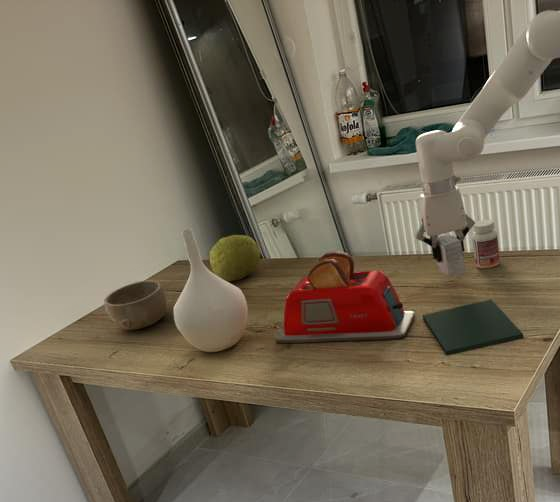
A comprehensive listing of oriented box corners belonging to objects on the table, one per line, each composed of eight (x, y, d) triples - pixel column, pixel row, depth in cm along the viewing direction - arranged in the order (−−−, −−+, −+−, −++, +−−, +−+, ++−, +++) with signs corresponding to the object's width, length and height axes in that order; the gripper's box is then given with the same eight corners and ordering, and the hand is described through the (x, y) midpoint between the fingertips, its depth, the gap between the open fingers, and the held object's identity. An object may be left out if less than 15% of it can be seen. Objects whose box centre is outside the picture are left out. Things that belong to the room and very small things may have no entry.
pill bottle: (504, 262, 176) (501, 220, 171) (486, 270, 175) (482, 228, 170) (488, 258, 182) (484, 217, 177) (470, 266, 180) (466, 224, 175)
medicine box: (466, 273, 167) (461, 239, 164) (448, 278, 167) (443, 245, 163) (453, 264, 174) (449, 232, 171) (437, 269, 174) (432, 237, 171)
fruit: (232, 267, 226) (244, 225, 219) (262, 286, 218) (275, 243, 211) (196, 271, 214) (206, 226, 207) (225, 291, 207) (238, 245, 200)
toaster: (416, 314, 161) (405, 238, 152) (404, 339, 151) (392, 260, 142) (292, 321, 174) (276, 251, 166) (274, 344, 164) (255, 271, 156)
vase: (230, 362, 161) (195, 242, 147) (171, 359, 170) (132, 246, 157) (268, 327, 174) (239, 214, 161) (211, 326, 184) (179, 220, 170)
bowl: (137, 340, 187) (125, 307, 183) (102, 332, 200) (90, 300, 195) (184, 313, 198) (173, 281, 193) (148, 307, 210) (137, 277, 205)
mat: (491, 303, 157) (490, 299, 157) (523, 337, 139) (523, 333, 139) (423, 318, 158) (422, 315, 157) (446, 355, 140) (445, 351, 140)
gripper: (469, 173, 164) (478, 245, 172) (400, 192, 165) (412, 262, 173) (478, 179, 157) (487, 253, 165) (407, 198, 158) (419, 271, 166)
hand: (449, 257), depth 169 cm, fingers closed on medicine box, 4 cm apart
